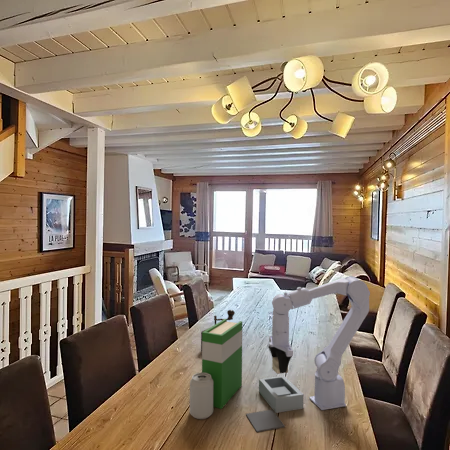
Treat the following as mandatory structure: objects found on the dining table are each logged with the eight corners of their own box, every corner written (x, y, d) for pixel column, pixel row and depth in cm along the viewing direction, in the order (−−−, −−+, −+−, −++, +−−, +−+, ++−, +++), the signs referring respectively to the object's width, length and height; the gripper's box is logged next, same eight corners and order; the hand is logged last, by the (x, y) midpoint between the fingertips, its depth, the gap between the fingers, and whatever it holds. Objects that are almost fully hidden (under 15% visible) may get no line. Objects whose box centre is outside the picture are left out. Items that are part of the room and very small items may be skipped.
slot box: (284, 388, 122) (284, 375, 122) (303, 408, 109) (303, 394, 109) (258, 391, 119) (259, 378, 119) (275, 412, 106) (275, 398, 106)
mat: (272, 410, 107) (272, 409, 107) (284, 427, 98) (284, 425, 98) (246, 414, 104) (246, 413, 104) (256, 432, 96) (256, 430, 96)
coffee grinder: (220, 356, 151) (220, 316, 151) (200, 351, 157) (200, 313, 157) (236, 345, 164) (236, 309, 164) (217, 341, 170) (217, 306, 170)
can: (213, 407, 109) (213, 370, 109) (213, 420, 101) (213, 381, 101) (190, 407, 109) (190, 370, 109) (188, 420, 101) (189, 381, 101)
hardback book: (223, 381, 127) (224, 318, 127) (241, 385, 124) (242, 321, 124) (201, 403, 111) (202, 332, 111) (221, 409, 108) (222, 335, 108)
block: (282, 367, 116) (282, 356, 116) (287, 372, 112) (288, 360, 112) (272, 368, 115) (272, 357, 115) (277, 373, 111) (277, 362, 111)
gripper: (261, 324, 120) (261, 362, 120) (279, 338, 106) (278, 380, 106) (279, 323, 122) (278, 360, 122) (298, 336, 108) (298, 377, 108)
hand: (280, 369), depth 114 cm, fingers closed on block, 4 cm apart
